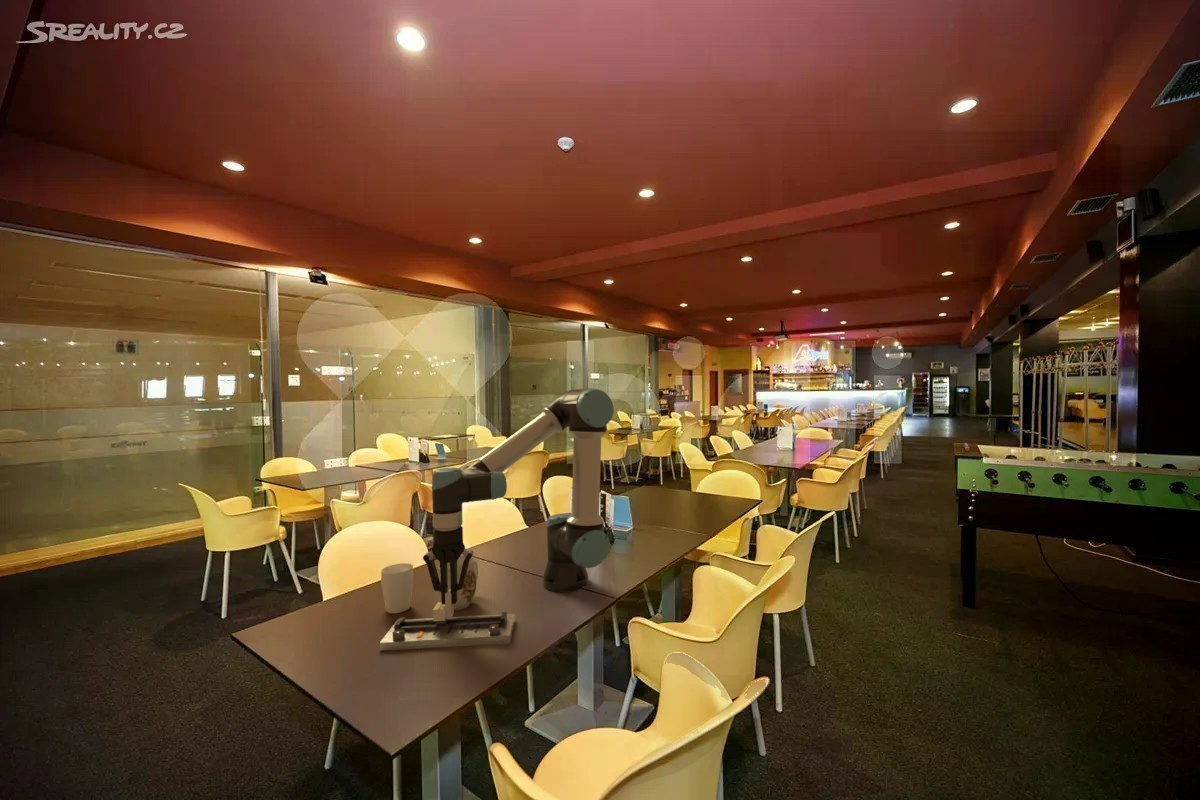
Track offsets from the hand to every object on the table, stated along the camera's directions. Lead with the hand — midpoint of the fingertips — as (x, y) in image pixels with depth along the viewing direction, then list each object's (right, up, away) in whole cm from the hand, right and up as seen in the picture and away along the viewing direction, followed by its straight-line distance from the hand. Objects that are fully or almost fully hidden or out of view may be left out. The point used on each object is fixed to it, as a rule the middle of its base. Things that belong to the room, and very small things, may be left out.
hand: (449, 615), depth 124 cm
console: (+1, -5, -1) cm, 5 cm away
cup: (-21, -5, +16) cm, 26 cm away
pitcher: (-3, -5, +18) cm, 19 cm away
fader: (-2, -3, 0) cm, 3 cm away
